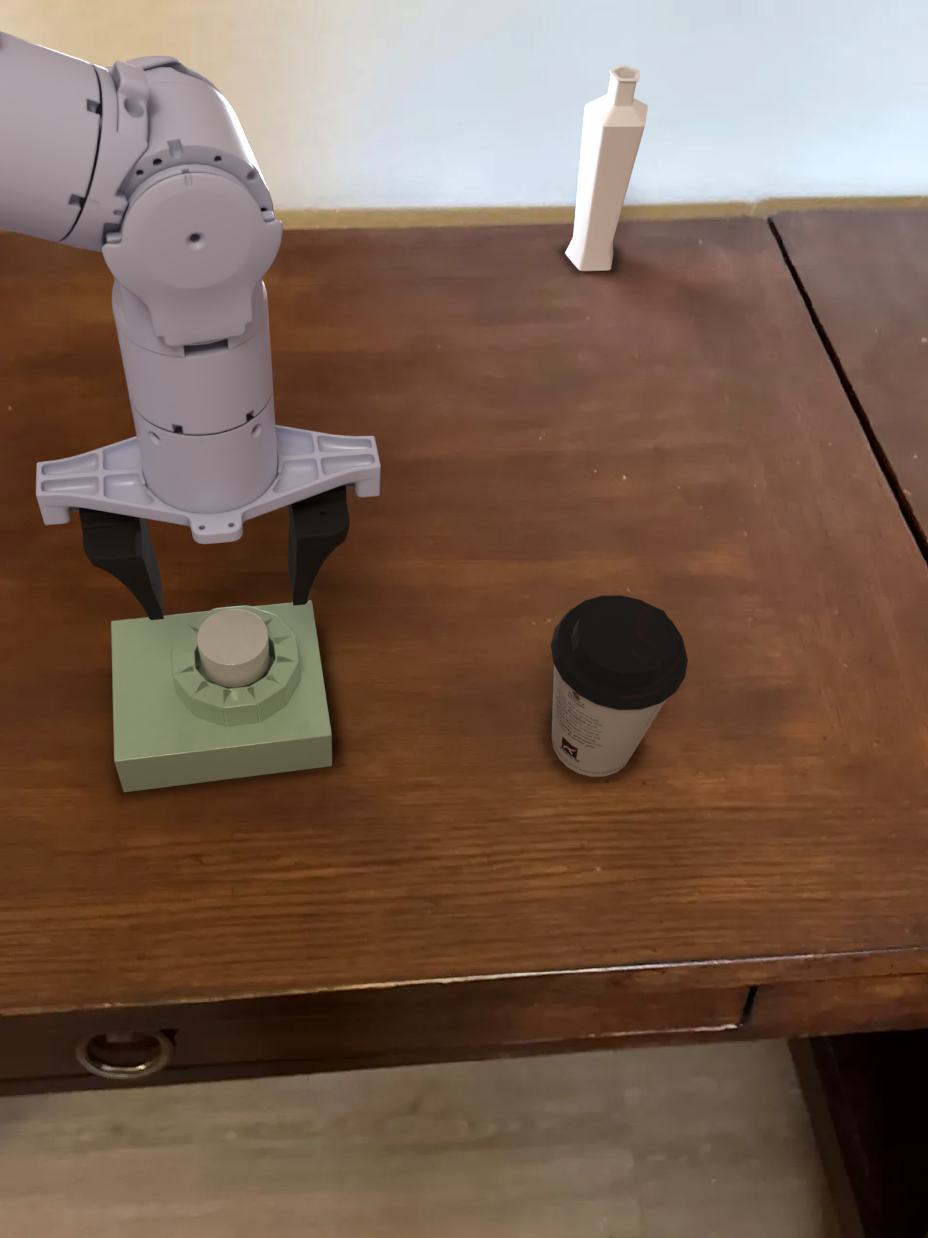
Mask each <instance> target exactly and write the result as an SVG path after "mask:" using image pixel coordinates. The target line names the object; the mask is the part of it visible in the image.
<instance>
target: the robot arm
mask: <svg viewBox="0 0 928 1238" xmlns="http://www.w3.org/2000/svg"><path fill="white" fill-rule="evenodd" d="M0 229H4V230H7V231H11V232H15V233H19V234H22V235H26V236H30V237H34V238H37V239H42V240H46V241H48V242H53V243H56V244H60V245H61V244H62V245H65V246H69V247H73V248H76V249H81V250H86V251H87V250H88V251H92V252H99V253H102V256H103V259H104V262H105V264H106V266H107V268H108V270H109V272H110V273H111V274H112V276H113V286H112V291H111V307H112V314H113V319H114V323H115V328H116V333H117V339H118V344H119V345H118V346H119V350H120V355H121V361H122V366H123V372H124V377H125V381H126V387H127V393H128V397H129V403H130V409H131V414H132V417H133V419H132V420H133V424H134V429H135V435H136V436H133V437H129V438H126V439H123V440H120V441H117V442H114V443H111V444H108V445H105V446H102V447H98V448H96V449H92V450H90V451H87V452H84V453H81V454H77V455H74V456H69V457H65V458H60V459H53V460H45V461H38V462H37V463H36V471H35V473H36V476H35V496H36V500H37V504H38V507H39V510H40V513H41V517H42V521H43V524H44V525H45V526H52V525H53V526H54V525H64V524H68V523H69V522H70V521H71V519H72V513H77V512H78V516H79V519H80V523H81V530H82V549H83V551H84V553H85V556H86V557H87V559H88V561H89V563H90V564H91V565H92V566H94V567H95V568H99V569H100V570H102V571H105V572H107V573H108V574H110V575H111V576H113V577H114V578H116V579H117V580H118V581H119V582H121V583H122V584H123V586H125V587H126V589H127V590H129V592H131V594H132V596H134V597H135V599H136V600H137V601H138V603H139V604H140V606H141V607H142V609H143V610H144V612H145V614H146V615H147V617H149V619H150V620H160V619H164V616H165V613H164V612H165V611H164V595H163V584H162V577H161V571H160V567H159V563H158V559H157V557H156V553H155V550H154V545H153V543H152V540H151V536H150V532H149V526H148V520H152V521H158V522H163V523H168V524H174V525H179V526H184V527H185V526H187V527H189V528H190V531H191V535H192V539H193V540H194V542H196V543H197V544H199V545H200V544H201V545H210V544H211V545H212V544H221V543H223V544H224V543H232V542H236V541H238V540H239V539H241V538H242V537H243V534H244V528H243V526H244V523H245V522H247V521H249V520H251V519H254V518H257V517H260V516H262V515H263V516H264V515H265V514H268V513H270V512H274V511H276V510H280V509H281V508H282V509H283V508H284V507H287V510H288V541H287V567H288V579H289V584H290V592H291V599H292V603H293V606H296V605H305V604H306V603H307V601H309V600H308V599H309V596H310V592H311V589H312V586H313V584H314V581H315V579H316V577H317V575H318V574H319V571H320V569H321V567H322V566H323V564H324V562H325V561H326V560H327V558H328V557H329V556H330V555H331V554H332V553H333V552H334V550H336V549H337V548H338V547H339V546H341V545H342V544H343V543H345V541H346V540H347V537H348V533H349V529H350V512H349V505H348V501H347V499H348V498H347V496H348V495H347V493H348V492H347V489H353V490H354V494H355V496H356V497H358V498H372V497H379V496H380V495H381V469H382V468H381V467H382V465H381V461H380V456H379V451H378V446H377V441H376V437H375V435H340V434H332V433H326V432H320V431H314V430H308V429H301V428H296V427H290V426H284V425H279V424H276V415H275V399H274V398H275V397H274V380H273V378H274V377H273V365H272V364H273V363H272V362H273V361H272V347H271V333H270V316H269V303H268V301H269V300H268V292H267V288H266V285H265V283H264V280H263V279H264V278H263V277H265V275H266V274H267V272H268V271H269V269H270V268H271V267H272V265H273V263H274V261H275V259H276V258H277V256H278V253H279V250H280V248H281V243H282V238H283V231H284V223H283V222H282V221H281V220H280V219H276V216H275V212H274V203H273V200H272V196H271V193H270V190H269V188H268V185H267V184H266V180H265V179H264V176H263V174H262V172H261V169H260V166H259V165H258V163H257V160H256V158H255V155H254V153H253V151H252V148H251V147H250V144H249V142H248V139H247V137H246V135H245V133H244V130H243V128H242V126H241V123H240V121H239V118H238V117H237V114H236V112H235V110H234V109H233V107H232V106H231V105H230V103H229V102H228V100H227V99H226V97H225V95H224V94H223V93H222V92H221V90H220V89H219V88H218V87H217V86H216V84H215V83H213V81H212V80H210V79H208V78H207V77H206V76H205V75H203V74H201V73H199V72H198V71H196V70H194V69H192V68H189V67H187V65H185V64H184V63H183V62H182V61H180V59H178V58H176V57H175V56H169V55H147V56H140V57H136V58H131V59H129V60H125V61H122V60H116V61H114V63H113V65H112V66H101V65H98V64H95V63H91V62H89V61H86V60H84V59H81V58H78V57H75V56H73V55H69V54H66V53H64V52H61V51H58V50H56V49H52V48H49V47H47V46H44V45H41V44H39V43H35V42H33V41H30V40H26V39H24V38H22V37H18V36H15V35H12V34H10V33H8V32H4V31H1V30H0Z"/></svg>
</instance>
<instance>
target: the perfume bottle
mask: <svg viewBox="0 0 928 1238" xmlns="http://www.w3.org/2000/svg"><path fill="white" fill-rule="evenodd" d="M608 72H609V74H610V79H609V84H608V89H607V93H606V94H604V95H602V96H600V97H598V98H595V99H594V100H592V101H589V102H587V103H585V104H584V109H583V110H584V111H583V121H582V133H581V143H580V158H579V166H578V178H577V189H576V200H575V213H574V222H573V235H572V238H571V240H570V242H569V244H568V246H567V247H566V250H565V253H564V254H565V256H566V257H567V258H568V259H569V260H570V261H571V263H572V264H573V265H574V266H575V268H576V269H577V270H579V271H580V272H598V271H599V272H600V271H610V270H611V269H612V266H613V258H614V238H615V235H616V232H617V228H618V224H619V222H620V221H619V220H620V216H621V214H622V210H623V206H624V202H625V200H626V196H627V192H628V188H629V184H630V181H631V177H632V173H633V170H634V168H635V167H634V166H635V163H636V158H637V155H638V152H639V149H640V145H641V142H642V138H643V134H644V131H645V127H646V123H647V116H648V108H649V107H648V104H647V103H644V102H642V101H641V100H639V99H637V98H635V97H634V96H635V92H636V88H637V83H638V82H639V81H640V77H641V71H640V70H639V69H637V68H634V67H631V66H628V65H625V64H619V65H617V66H615V67H613V68H611V69H609V71H608Z"/></svg>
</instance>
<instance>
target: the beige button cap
mask: <svg viewBox="0 0 928 1238" xmlns="http://www.w3.org/2000/svg"><path fill="white" fill-rule="evenodd" d="M197 644H198V650H199V656H200V662H201V667H202V670H203V672H204V674H205V675H206V676H207V677H208V678H209V679H210V680H211V681H213V682H214V683H216V684H218V685H221V686H225V687H242V686H246V685H249V684H251V683H253V682H255V681H257V680H258V679H259V678H260V677H262V675H263V674H264V673H265V672H266V670H267V668H268V666H269V663H270V650H269V638H268V630H267V627H266V625H265V623H264V622H263V621H262V620H261V619H260V618H259V617H258V616H257V615H255V614H253V613H252V612H249V611H246V610H241V609H228V610H223V611H220V612H217V613H215V614H213V615H212V616H210V617H209V618H207V619H206V620H205V621H204V622H203V624H202V625H201V627H200V629H199V631H198V634H197Z"/></svg>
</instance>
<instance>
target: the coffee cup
mask: <svg viewBox="0 0 928 1238" xmlns="http://www.w3.org/2000/svg"><path fill="white" fill-rule="evenodd" d="M550 650H551V656H552V663H553V686H552V688H553V689H552V691H553V692H552V715H551V716H552V717H551V742H552V748H553V751H554V752H555V754H556V756H557V758H558V759H559V760H560V761H561V762H562V763H563V764H564V765H565V767H566V768H567V769H570V770H571V771H573V772H575V773H577V774H578V775H583V776H587V777H589V778H590V777H591V778H600V777H603V778H604V777H609V776H610V775H613V774H617V773H618V772H619V771H621V770H622V769H623V768H625V767H626V765H627V764H628V762H629V761H630V759H631V758H632V756H633V754H634V752H636V749H638V747H639V744H640V743H641V742H642V740H643V738H644V737H645V735H646V733H647V732H648V730H649V729H650V727H651V725H652V724H653V722H654V720H655V719H656V717H657V715H658V714H659V713H660V711H661V710H662V708H663V706H664V704H665V703H666V701H667V699H669V698H670V697H671V696H673V695H674V694H675V693H677V692H678V689H679V688H680V686H682V685H681V684H682V683H683V681H684V680H685V678H686V677H687V676H686V675H687V669H688V662H689V659H688V654H687V650H686V645H685V641H684V638H683V636H682V634H681V633H680V631H679V629H678V627H677V626H676V625H675V623H674V621H673V620H672V619H670V617H669V616H668V615H667V613H666V612H665V610H663V609H661V608H659V607H656V606H654V605H652V604H649V602H648V603H647V602H646V601H644V600H641V599H639V598H634V597H630V596H626V595H621V594H619V595H617V594H615V595H614V594H613V595H599V596H596V597H592V598H590V599H585V600H583V601H582V602H580V603H579V604H577V605H576V606H574V607H573V608H571V609H570V610H568V611H567V612H566V613H565V614H564V615H563V616H562V618H561V619H560V620H559V622H558V623H557V624H556V626H555V627H554V630H553V633H552V637H551V642H550Z"/></svg>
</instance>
